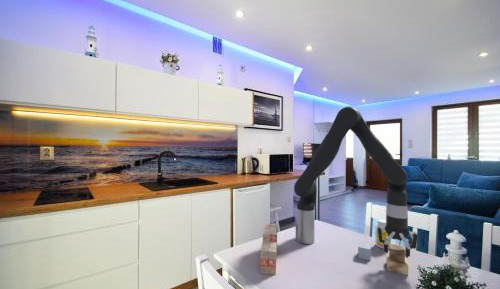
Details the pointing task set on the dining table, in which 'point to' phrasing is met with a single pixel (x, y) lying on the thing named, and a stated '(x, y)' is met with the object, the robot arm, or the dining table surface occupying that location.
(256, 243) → the dining table surface
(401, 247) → the walnut cube
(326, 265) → the dining table surface
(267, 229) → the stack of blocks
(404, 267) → the oak base
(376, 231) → the supplement bottle
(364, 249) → the slate cube
